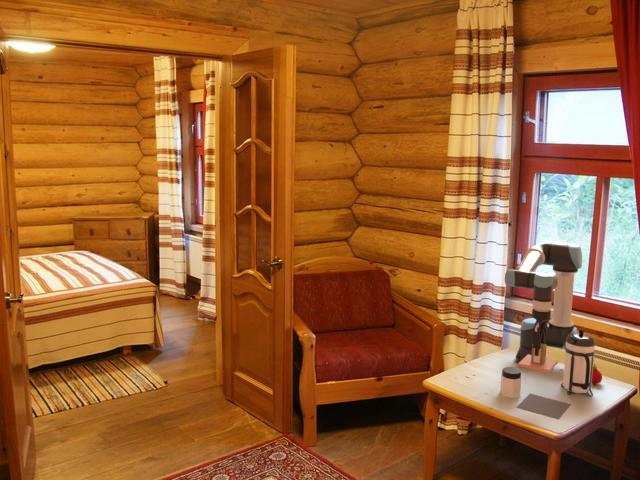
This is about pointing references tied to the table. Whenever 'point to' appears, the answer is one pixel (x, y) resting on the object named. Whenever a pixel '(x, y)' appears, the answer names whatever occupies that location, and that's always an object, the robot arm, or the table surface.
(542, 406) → the mat
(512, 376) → the jar
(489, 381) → the table surface
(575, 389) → the coffee press
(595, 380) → the christmas ornament
